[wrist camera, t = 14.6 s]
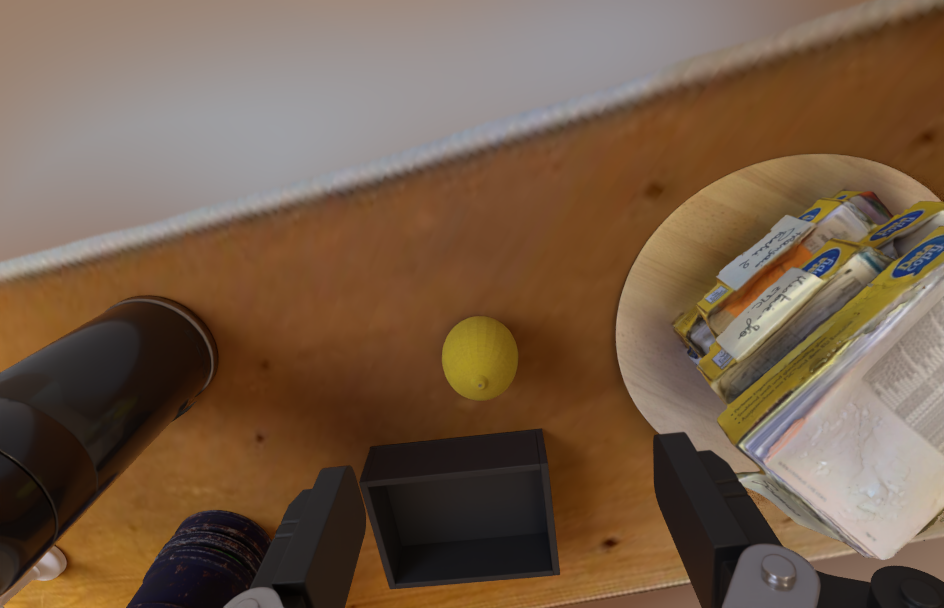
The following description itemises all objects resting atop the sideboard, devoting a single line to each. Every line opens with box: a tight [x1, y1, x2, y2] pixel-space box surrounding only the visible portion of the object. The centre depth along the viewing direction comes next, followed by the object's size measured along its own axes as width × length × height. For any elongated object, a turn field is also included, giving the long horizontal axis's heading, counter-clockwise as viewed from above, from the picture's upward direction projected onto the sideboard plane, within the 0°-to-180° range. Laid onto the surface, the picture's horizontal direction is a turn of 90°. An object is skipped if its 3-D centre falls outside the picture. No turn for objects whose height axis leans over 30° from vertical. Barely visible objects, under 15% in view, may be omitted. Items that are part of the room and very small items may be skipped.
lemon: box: [442, 316, 518, 401], centre depth 37 cm, size 6×6×8 cm
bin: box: [359, 429, 560, 589], centre depth 45 cm, size 15×12×4 cm
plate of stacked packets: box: [616, 154, 944, 560], centre depth 32 cm, size 25×25×17 cm
